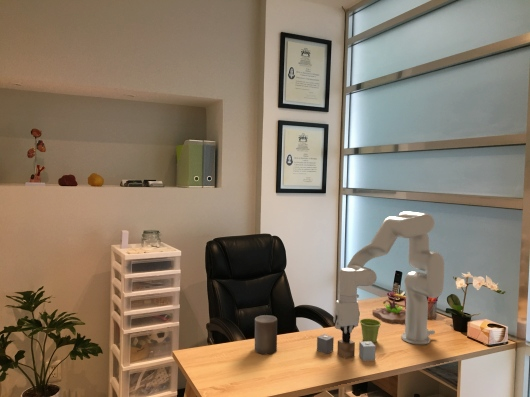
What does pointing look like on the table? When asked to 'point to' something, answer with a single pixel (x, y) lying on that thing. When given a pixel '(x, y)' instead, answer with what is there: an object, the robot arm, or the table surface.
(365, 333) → the plant pot
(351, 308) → the robot arm
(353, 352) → the walnut block
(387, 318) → the plant
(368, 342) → the slate block
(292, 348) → the table surface
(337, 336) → the table surface
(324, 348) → the charcoal block
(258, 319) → the pillar candle
